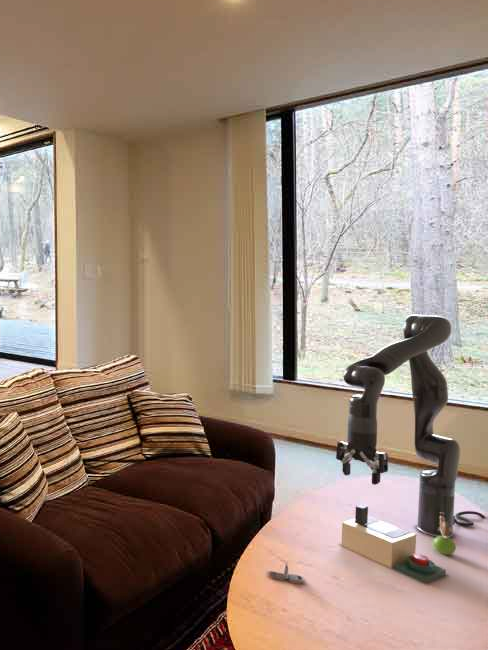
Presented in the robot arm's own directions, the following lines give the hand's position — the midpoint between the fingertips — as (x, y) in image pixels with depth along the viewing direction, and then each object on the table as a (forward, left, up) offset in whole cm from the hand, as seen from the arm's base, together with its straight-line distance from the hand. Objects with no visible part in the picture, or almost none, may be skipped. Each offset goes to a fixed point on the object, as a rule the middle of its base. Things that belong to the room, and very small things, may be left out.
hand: (360, 479), depth 169 cm
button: (-5, +15, -21) cm, 26 cm away
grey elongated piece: (+33, 0, -24) cm, 41 cm away
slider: (-4, -2, -16) cm, 16 cm away
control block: (-5, +15, -24) cm, 29 cm away
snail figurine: (-24, +11, -24) cm, 36 cm away
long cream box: (-6, +2, -24) cm, 25 cm away
